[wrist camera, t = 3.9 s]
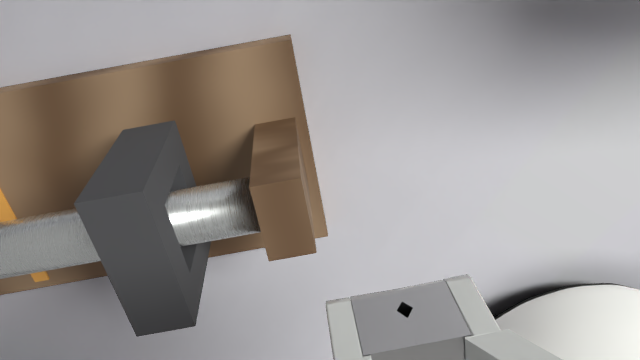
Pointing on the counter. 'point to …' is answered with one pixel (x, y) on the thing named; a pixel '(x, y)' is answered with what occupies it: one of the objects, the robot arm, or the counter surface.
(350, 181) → the counter surface
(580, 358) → the milk container
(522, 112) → the counter surface
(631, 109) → the counter surface
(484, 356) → the robot arm
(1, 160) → the pipe stand
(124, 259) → the collar
